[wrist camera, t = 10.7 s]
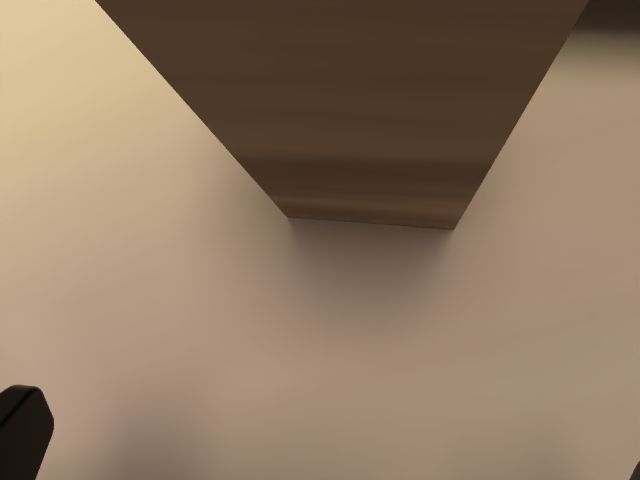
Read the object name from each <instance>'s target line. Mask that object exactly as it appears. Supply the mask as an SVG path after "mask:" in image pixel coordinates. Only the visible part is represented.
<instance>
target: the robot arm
mask: <svg viewBox="0 0 640 480" xmlns="http://www.w3.org/2000/svg"><path fill="white" fill-rule="evenodd" d="M53 430H54V418H53V416H52V413H51V411H50V409H49V406H48V404H47V401H46V399H45V397H44V394H43V392H42V391H41V389H39V388H38V387H35V386H26V385H13V386H10V387H8V388H7V389H5V390H4V391H2V392H1V393H0V480H35V479H36V476H37V474H38V471H39V469H40V466H41V463H42V461H43V458H44V455H45V453H46V450H47V447H48V445H49V442H50V439H51V437H52V434H53ZM629 480H640V461H639V462H638V464H637V465H636V467H635V469H634V471H633V473H632V475H631V477H630V479H629Z"/></svg>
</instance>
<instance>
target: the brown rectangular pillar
mask: <svg viewBox="0 0 640 480" xmlns="http://www.w3.org/2000/svg"><path fill="white" fill-rule="evenodd" d="M95 1H96V2H97V3H98V4H99V5H100V6H101V8H102V9H103V10H104V11H105V12H106V13H107V14H108V15H109V17H110V18H111V19H112V20H113V21H114V22H115V23H116V25H117V26H118V27H119V28H120V29H121V30H122V31H123V32H124V34H125V35H126V36H127V37H128V38H129V39H130V40H131V41H132V43H133V44H134V45H135V46H136V47H137V48H138V49H139V50H140V52H141V53H142V54H143V55H144V56H145V57H146V58H147V59H148V61H149V62H150V63H151V64H152V65H153V66H154V67H155V68H156V70H157V71H158V72H159V73H160V74H161V75H162V76H163V78H164V79H165V80H166V81H167V82H168V83H169V84H170V85H171V87H172V88H173V89H174V90H175V91H176V92H177V93H178V94H179V96H180V97H181V98H182V99H183V100H184V101H185V102H186V103H187V105H188V106H189V107H190V108H191V109H192V110H193V111H194V112H195V114H196V115H197V116H198V117H199V118H200V119H201V120H202V121H203V123H204V124H205V125H206V126H207V127H208V128H209V129H210V131H211V132H212V133H213V134H214V135H215V136H216V137H217V138H218V140H219V141H220V142H221V143H222V144H223V145H224V146H225V147H226V149H227V150H228V151H229V152H230V153H231V154H232V155H233V156H234V158H235V159H236V160H237V161H238V162H239V163H240V164H241V165H242V167H243V168H244V169H245V170H246V171H247V172H248V173H249V174H250V176H251V177H252V178H253V179H254V180H255V181H256V182H257V184H258V185H259V186H260V187H261V188H262V189H263V190H264V191H265V193H266V194H267V195H268V196H269V197H270V198H271V199H272V200H273V202H274V203H275V204H276V205H277V206H278V207H279V208H280V209H281V211H282V212H283V213H284V214H285V215H286V216H287V217H297V218H311V219H324V220H337V221H350V222H363V223H377V224H390V225H403V226H416V227H430V228H443V229H455V227H456V225H457V224H458V222H459V220H460V219H461V217H462V215H463V213H464V212H465V210H466V208H467V207H468V205H469V203H470V202H471V200H472V198H473V196H474V195H475V193H476V191H477V190H478V188H479V186H480V185H481V183H482V181H483V180H484V178H485V176H486V174H487V173H488V171H489V169H490V168H491V166H492V164H493V163H494V161H495V159H496V157H497V156H498V154H499V152H500V151H501V149H502V147H503V146H504V144H505V142H506V140H507V139H508V137H509V135H510V134H511V132H512V130H513V129H514V127H515V125H516V124H517V122H518V120H519V118H520V117H521V115H522V113H523V112H524V110H525V108H526V107H527V105H528V103H529V101H530V100H531V98H532V96H533V95H534V93H535V91H536V90H537V88H538V86H539V84H540V83H541V81H542V79H543V78H544V76H545V74H546V73H547V71H548V69H549V68H550V66H551V64H552V62H553V61H554V59H555V57H556V56H557V54H558V52H559V51H560V49H561V47H562V45H563V44H564V42H565V40H566V39H567V37H568V35H569V34H570V32H571V30H572V29H573V27H574V25H575V23H576V22H577V20H578V18H579V17H580V15H581V13H582V12H583V10H584V8H585V6H586V5H587V3H588V1H589V0H95Z"/></svg>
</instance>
